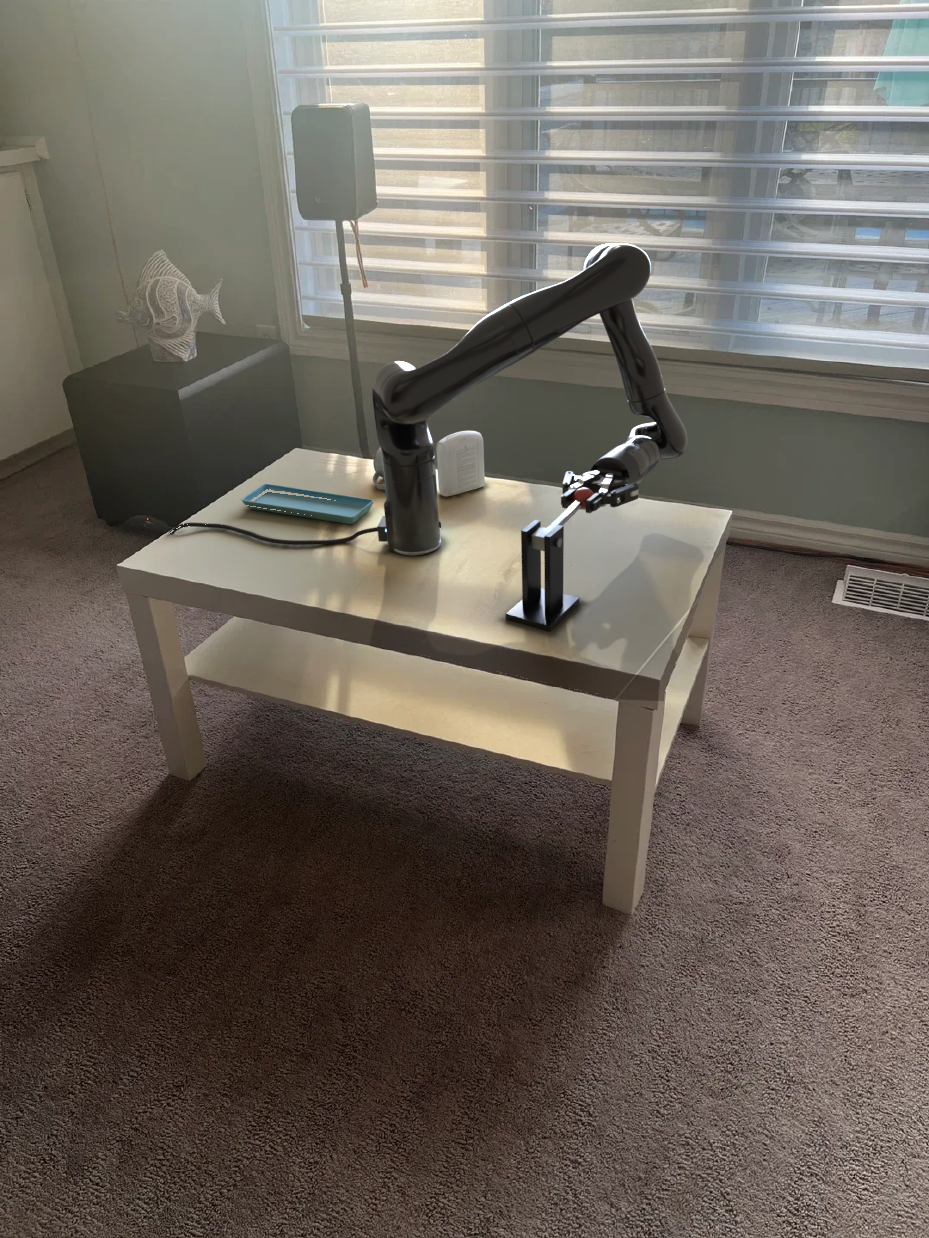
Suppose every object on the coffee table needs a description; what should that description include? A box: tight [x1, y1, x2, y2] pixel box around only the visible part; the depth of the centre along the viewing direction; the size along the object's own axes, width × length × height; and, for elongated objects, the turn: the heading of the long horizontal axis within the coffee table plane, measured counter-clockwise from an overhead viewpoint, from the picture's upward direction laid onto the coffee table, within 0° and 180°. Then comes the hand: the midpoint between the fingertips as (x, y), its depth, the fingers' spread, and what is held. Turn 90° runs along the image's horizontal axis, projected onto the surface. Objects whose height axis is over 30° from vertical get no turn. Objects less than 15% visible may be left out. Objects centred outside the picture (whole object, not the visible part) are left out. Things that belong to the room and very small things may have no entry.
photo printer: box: [435, 430, 486, 497], centre depth 188 cm, size 10×4×12 cm, turn 123°
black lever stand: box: [505, 519, 580, 633], centre depth 143 cm, size 10×8×15 cm
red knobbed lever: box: [532, 488, 594, 552], centre depth 145 cm, size 17×4×4 cm, turn 147°
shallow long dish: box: [240, 483, 375, 525], centre depth 185 cm, size 26×9×2 cm, turn 67°
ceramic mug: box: [372, 446, 386, 491], centre depth 195 cm, size 11×8×8 cm
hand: (576, 505), depth 147 cm, fingers closed on red knobbed lever, 3 cm apart
